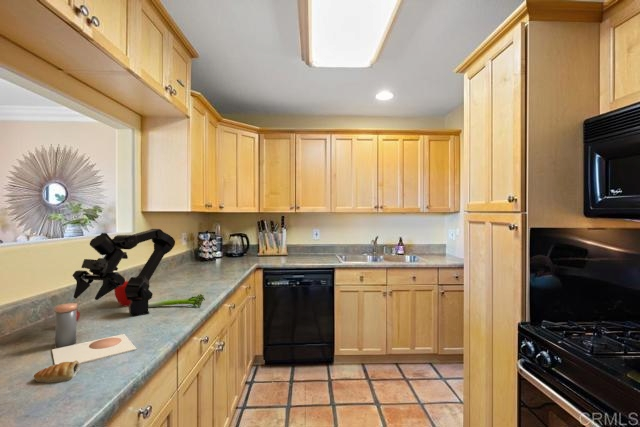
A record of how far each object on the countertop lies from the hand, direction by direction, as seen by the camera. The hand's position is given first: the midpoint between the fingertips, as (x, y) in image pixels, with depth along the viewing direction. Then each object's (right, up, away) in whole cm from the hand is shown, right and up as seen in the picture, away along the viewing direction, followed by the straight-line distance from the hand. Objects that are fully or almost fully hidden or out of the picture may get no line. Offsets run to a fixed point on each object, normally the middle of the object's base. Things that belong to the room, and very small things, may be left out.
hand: (85, 298), depth 115 cm
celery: (+15, -14, +35) cm, 41 cm away
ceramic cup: (-9, -13, +41) cm, 44 cm away
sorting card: (+12, -13, -13) cm, 22 cm away
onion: (-12, -13, +9) cm, 20 cm away
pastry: (+15, -14, -29) cm, 35 cm away
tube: (0, -13, -8) cm, 15 cm away
